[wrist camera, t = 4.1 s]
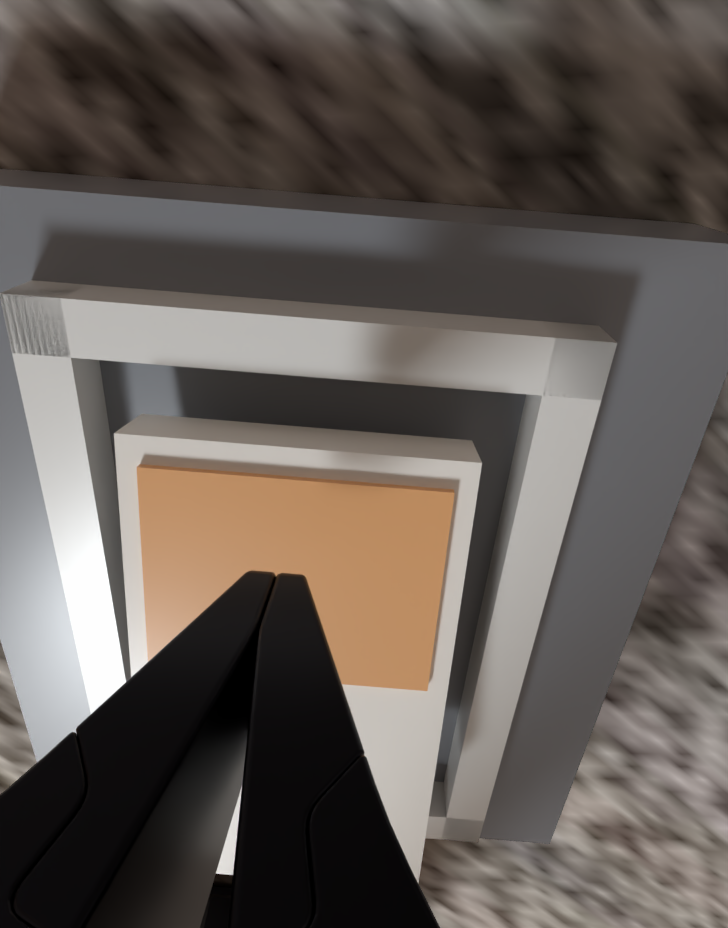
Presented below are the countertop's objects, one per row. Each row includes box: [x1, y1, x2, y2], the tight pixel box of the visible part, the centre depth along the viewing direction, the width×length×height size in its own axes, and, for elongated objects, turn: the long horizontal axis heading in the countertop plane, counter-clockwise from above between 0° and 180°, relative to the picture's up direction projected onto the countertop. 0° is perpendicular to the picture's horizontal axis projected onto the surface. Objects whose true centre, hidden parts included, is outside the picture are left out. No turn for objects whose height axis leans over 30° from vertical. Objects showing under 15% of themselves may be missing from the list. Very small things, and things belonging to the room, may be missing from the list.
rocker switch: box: [114, 414, 482, 883], centre depth 12 cm, size 10×6×1 cm, turn 176°
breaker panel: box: [0, 169, 728, 844], centre depth 15 cm, size 17×15×4 cm
